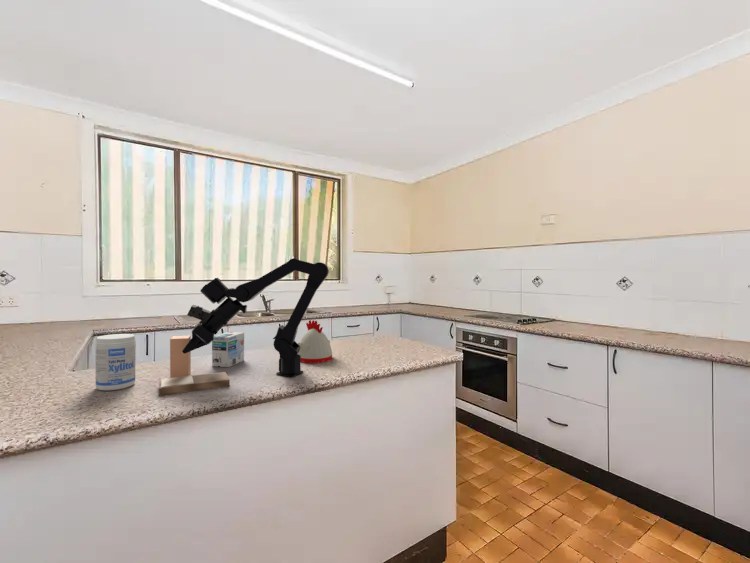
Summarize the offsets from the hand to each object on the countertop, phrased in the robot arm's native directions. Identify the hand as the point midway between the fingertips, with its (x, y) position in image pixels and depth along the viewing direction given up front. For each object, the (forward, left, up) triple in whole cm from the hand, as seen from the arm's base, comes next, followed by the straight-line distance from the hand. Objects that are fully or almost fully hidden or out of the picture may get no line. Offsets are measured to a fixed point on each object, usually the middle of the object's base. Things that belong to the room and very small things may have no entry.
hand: (185, 349), depth 116 cm
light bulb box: (+2, -19, -9) cm, 21 cm away
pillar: (+1, +1, -9) cm, 9 cm away
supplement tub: (+10, +15, -9) cm, 20 cm away
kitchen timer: (-21, -40, -9) cm, 46 cm away
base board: (-10, +4, -9) cm, 14 cm away
